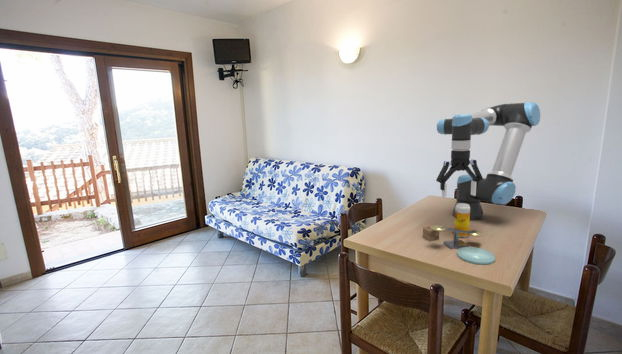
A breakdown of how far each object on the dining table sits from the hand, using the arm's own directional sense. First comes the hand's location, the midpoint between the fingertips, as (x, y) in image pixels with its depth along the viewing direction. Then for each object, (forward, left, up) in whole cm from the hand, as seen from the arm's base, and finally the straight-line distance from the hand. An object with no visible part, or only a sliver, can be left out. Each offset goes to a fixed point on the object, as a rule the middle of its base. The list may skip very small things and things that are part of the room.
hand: (458, 196), depth 134 cm
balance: (+6, +11, -19) cm, 23 cm away
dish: (+4, +22, -19) cm, 29 cm away
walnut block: (+13, +2, -19) cm, 23 cm away
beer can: (-2, +1, -19) cm, 19 cm away
